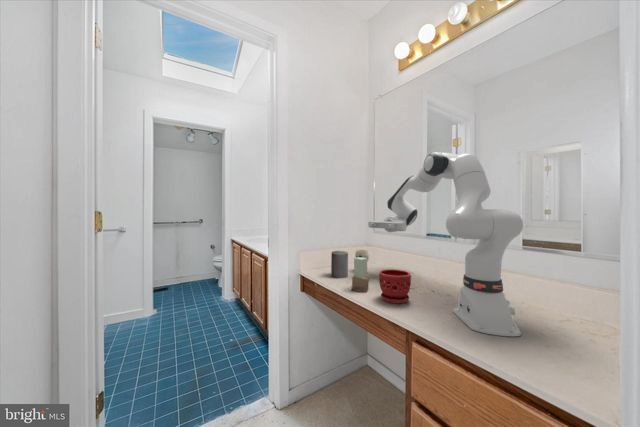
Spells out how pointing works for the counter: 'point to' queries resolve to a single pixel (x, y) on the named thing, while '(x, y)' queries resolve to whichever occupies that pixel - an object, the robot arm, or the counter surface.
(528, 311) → the counter surface
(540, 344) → the counter surface
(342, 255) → the pillar candle
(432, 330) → the counter surface
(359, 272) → the sage brick
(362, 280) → the walnut base
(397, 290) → the plant pot
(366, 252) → the character mug
